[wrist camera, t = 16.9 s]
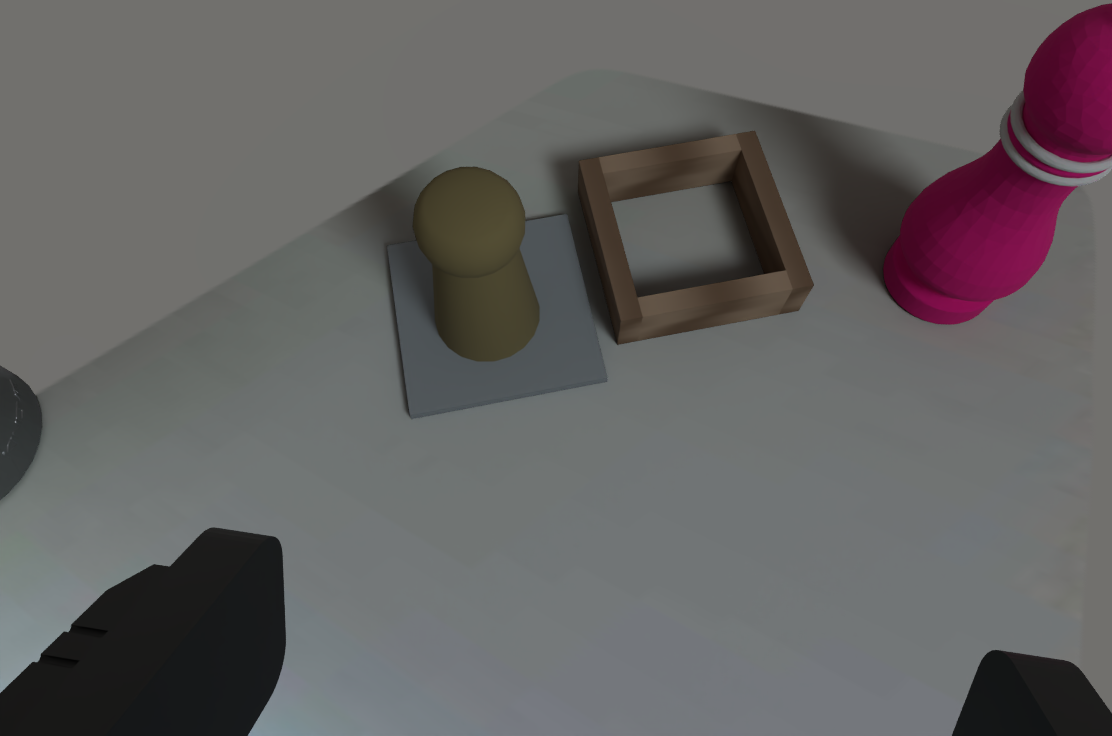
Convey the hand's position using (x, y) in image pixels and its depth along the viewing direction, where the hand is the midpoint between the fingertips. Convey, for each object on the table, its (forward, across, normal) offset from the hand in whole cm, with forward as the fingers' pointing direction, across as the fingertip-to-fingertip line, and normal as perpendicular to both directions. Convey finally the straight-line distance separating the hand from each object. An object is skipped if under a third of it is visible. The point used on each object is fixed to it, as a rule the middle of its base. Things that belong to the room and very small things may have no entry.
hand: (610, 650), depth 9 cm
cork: (+35, +8, +8) cm, 37 cm away
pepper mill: (+40, -18, +4) cm, 44 cm away
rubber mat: (+35, +8, +8) cm, 37 cm away
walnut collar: (+40, -3, +4) cm, 40 cm away
